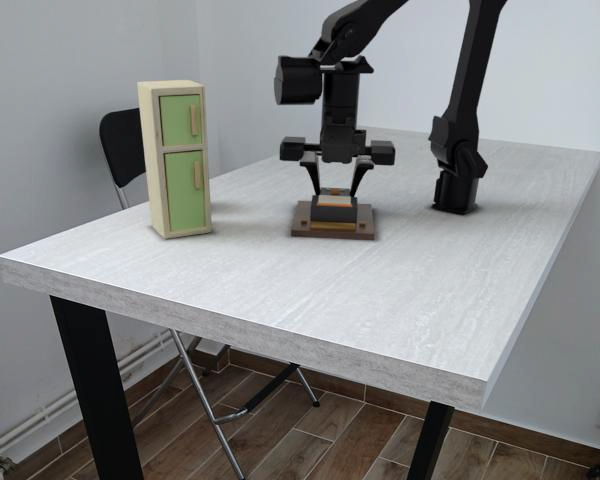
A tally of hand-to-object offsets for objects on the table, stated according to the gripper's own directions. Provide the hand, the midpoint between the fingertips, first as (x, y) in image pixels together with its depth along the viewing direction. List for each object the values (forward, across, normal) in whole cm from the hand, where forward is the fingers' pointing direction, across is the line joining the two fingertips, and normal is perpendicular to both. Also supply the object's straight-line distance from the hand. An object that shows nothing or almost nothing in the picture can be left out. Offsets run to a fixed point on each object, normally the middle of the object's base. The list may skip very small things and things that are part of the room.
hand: (334, 203), depth 110 cm
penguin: (0, 0, -3) cm, 4 cm away
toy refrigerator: (+2, -24, -13) cm, 27 cm away
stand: (+2, 0, -5) cm, 5 cm away
